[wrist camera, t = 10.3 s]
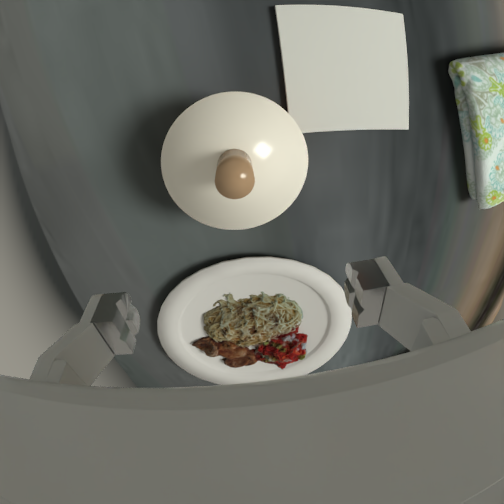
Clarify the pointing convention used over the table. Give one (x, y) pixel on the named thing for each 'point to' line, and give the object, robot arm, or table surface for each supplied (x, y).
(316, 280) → the plated food
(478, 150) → the towel
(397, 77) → the mat
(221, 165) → the lid
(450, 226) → the table surface
